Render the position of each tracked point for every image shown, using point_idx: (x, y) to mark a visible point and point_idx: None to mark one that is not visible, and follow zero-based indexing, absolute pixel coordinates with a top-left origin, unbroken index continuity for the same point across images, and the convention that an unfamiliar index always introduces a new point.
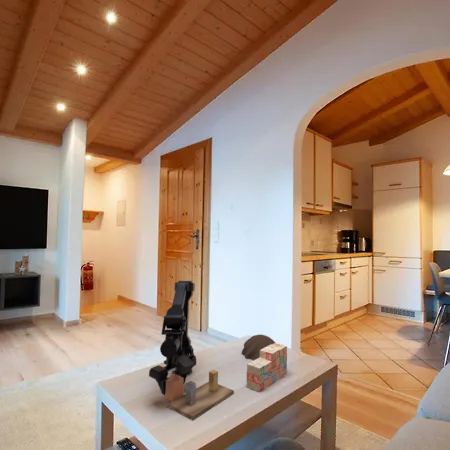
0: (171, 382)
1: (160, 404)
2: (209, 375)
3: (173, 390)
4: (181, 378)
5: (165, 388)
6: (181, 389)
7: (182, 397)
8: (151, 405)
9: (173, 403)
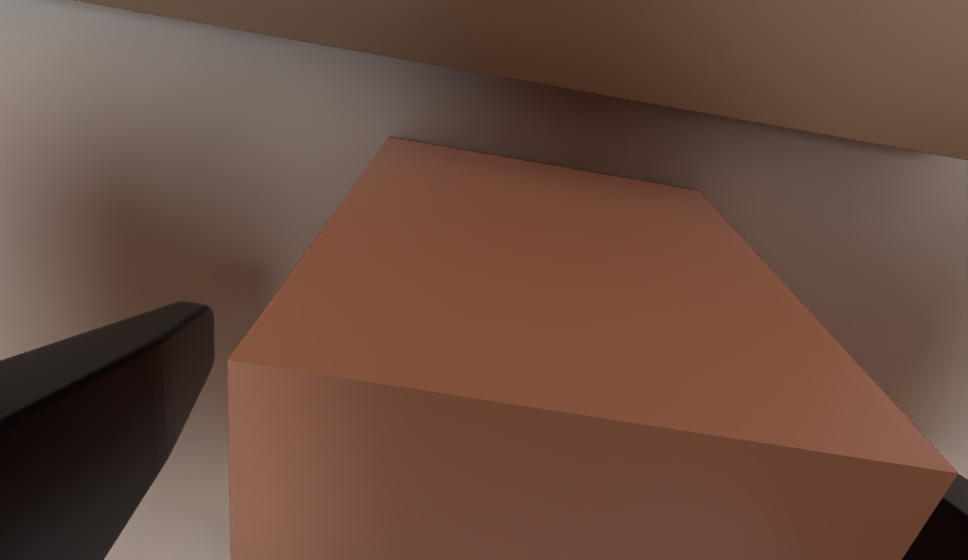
0: (905, 548)
1: (869, 329)
2: None
3: (776, 292)
4: (344, 410)
5: (959, 505)
6: (429, 202)
7: (582, 25)
8: (944, 430)
9: (951, 46)
